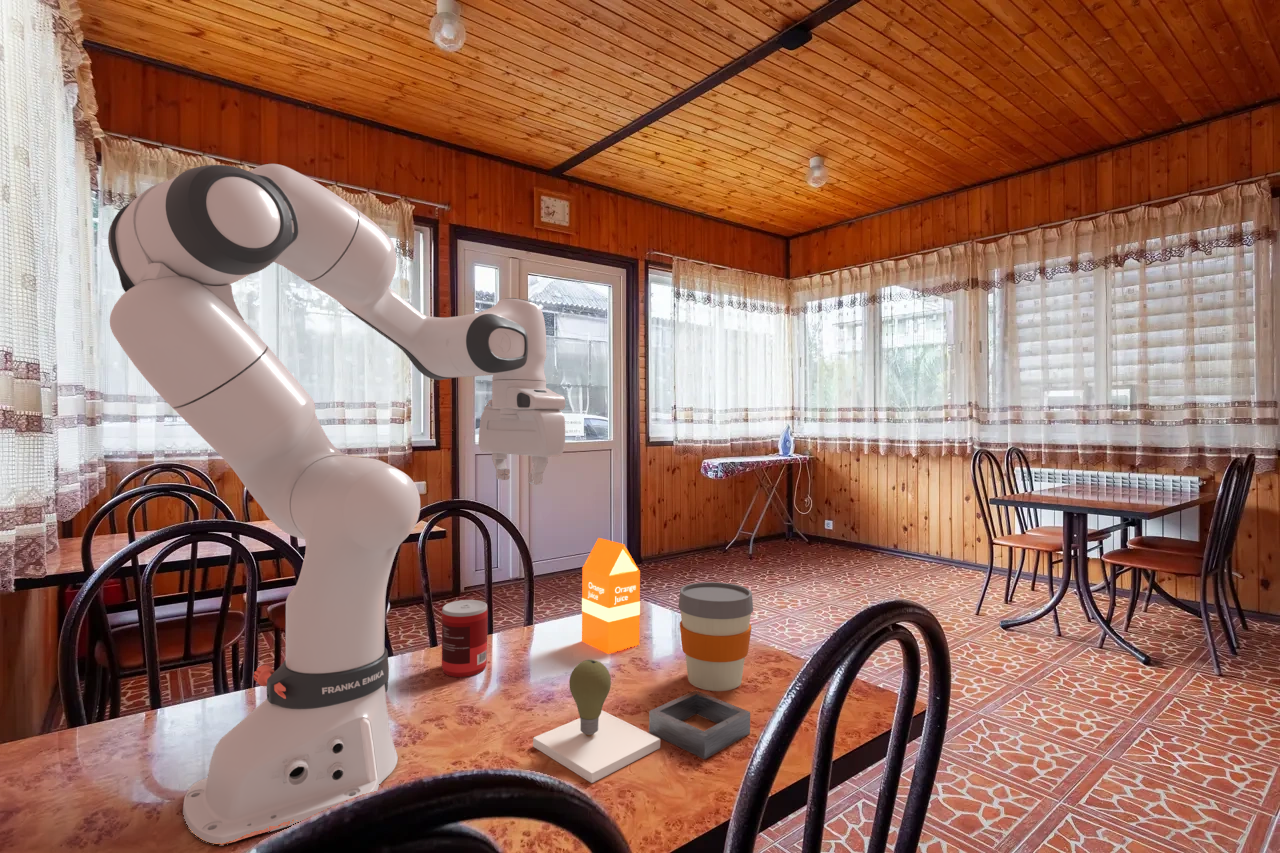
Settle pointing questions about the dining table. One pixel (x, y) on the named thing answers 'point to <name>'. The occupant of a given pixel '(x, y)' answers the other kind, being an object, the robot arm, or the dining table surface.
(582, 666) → the light bulb
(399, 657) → the dining table surface
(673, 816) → the dining table surface
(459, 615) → the canned food
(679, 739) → the square socket
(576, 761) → the cream pad
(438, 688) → the dining table surface
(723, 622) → the reusable coffee cup
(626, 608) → the orange juice
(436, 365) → the robot arm
